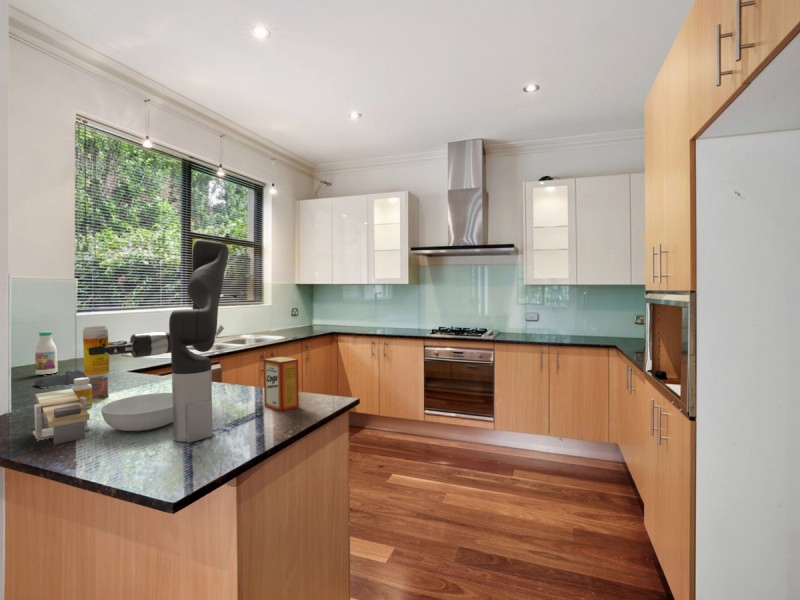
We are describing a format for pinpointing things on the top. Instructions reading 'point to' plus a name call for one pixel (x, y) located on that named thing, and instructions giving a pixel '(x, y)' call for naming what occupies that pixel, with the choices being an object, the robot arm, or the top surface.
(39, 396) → the seesaw
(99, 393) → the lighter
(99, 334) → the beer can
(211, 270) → the robot arm
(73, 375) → the dark slate chunk
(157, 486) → the top surface
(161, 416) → the serving bowl
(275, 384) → the baking soda box
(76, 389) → the supplement bottle
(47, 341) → the milk bottle
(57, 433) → the stand
